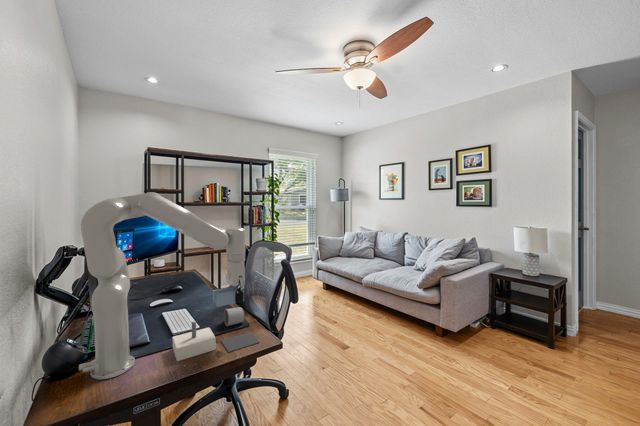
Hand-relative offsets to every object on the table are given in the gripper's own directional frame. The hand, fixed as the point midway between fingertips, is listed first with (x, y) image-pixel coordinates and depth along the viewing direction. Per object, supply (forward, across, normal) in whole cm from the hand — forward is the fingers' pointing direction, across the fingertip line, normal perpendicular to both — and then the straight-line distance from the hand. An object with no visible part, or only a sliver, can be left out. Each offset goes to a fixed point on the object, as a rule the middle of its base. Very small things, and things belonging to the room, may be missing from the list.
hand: (236, 298), depth 117 cm
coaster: (+18, +3, 0) cm, 18 cm away
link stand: (+18, -3, -16) cm, 24 cm away
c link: (0, 0, -3) cm, 3 cm away
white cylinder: (+18, -16, +4) cm, 25 cm away
